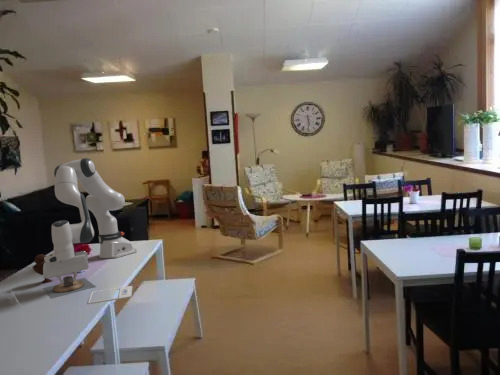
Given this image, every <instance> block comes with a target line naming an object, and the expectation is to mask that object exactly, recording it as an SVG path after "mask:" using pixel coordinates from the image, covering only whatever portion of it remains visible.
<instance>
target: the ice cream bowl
mask: <svg viewBox="0 0 500 375" xmlns="http://www.w3.org/2000/svg"><path fill="white" fill-rule="evenodd" d="M46 256H47V255H46V254H44V253H42V254H40V253H39V254H37V255H36V256H35V258H34V263H35V264H34V265H33V266H32V270H33V271H34V272H35V273H37V274H38V275H41V276H43V277H44V275H43V265H44V263H45V260H44V257H46ZM51 282H53V279H51V278H48V279H46V278H45V277H44V280H42V281H41V284H47V283H48V284H49V283H51Z"/></svg>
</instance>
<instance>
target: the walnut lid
mask: <svg viewBox="0 0 500 375" xmlns="http://www.w3.org/2000/svg"><path fill="white" fill-rule="evenodd" d="M72 277H73V276H72V275H67V276H64V277H63V278H62V280H64V284H62V285H61V284H60V283H58V285H57V284H55V285H56V286H54V287H53V291H54V292H57V293H64V292H70V291H74V290H77V289H80V288H82V287H83V286H84V282H83V281H74V282H73V280H72Z"/></svg>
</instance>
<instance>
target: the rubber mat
mask: <svg viewBox="0 0 500 375" xmlns="http://www.w3.org/2000/svg"><path fill="white" fill-rule="evenodd" d="M76 281H83V282H84V286H83V287H82V288H80V289H77V290H74V291H70V292H64V293H57V292H54V291H53V287H54V286H56V285H58V284H59V283H58V284H53V285H50V286H44V287H42V290H43V291H44V292H45V293H46V294H47V295H48V297H49V298H50V299H56V298H58V297H62V296H66V295H70V294H74V293H78V292H82V291H85V290H88V289H89V290H90V289H93V288H96V287H97V286H96V285H95V284H93V283H92V282H91V281H89V280H88V279H87V278H85V277H82V278H81V277H80V278H78V279H77V278H76Z"/></svg>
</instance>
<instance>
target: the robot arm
mask: <svg viewBox="0 0 500 375" xmlns="http://www.w3.org/2000/svg"><path fill="white" fill-rule="evenodd" d="M53 174H54V175H53V176H54V179H55V180H54V194H55V195H54V196H55V197H56V199H57V200H58V201H60V202H61V203H63V204H66V205H71V206H74V207H77V208H78V209H79V215H80V220H81V222H79V223H72V224H70V222H69V221H68V220H65V219H62V220H57V221H55V222H53V223H52V224H51V240H52V244H53V252H51V253H49V254H48V255H45V256H46V257H44V260H45V263H44V265H43V275H42V276H43V277H45V278H46V279H51V278H55V277H56V279H58V280H59V284H61V285H62V284H64V280H63V279H61V278H62V276H64V275H68V274H74V275H73V276H72V280H73V282H74V281H76V280H77V276H78V273H79V272H81V271H85V270H88V269H89V267H90V266H89V261H88V252H86V251H85V250H80V251H77V252H76V251H75V248H74V244H79V243H80V244H87V243H88V244H89V243H90V242H91V241H93V239H94V238H95V229H94V227H93V224H92V220H91V216H90V212H91V213H92V214H93V216H94V217H95V219H96V222H97V227H98V242H99V259H100V258H101V259H117V258H120V257H121V258H122V257H124V256H128V255H132V254H134V253H137V252H138V250H137V248H135V247H134V246H133V242H131V241H130V240H128V239H126V238H125V237H123V236H124V235H125V232H123V231H119V229H118V220H117V218H116V217H115V216H114V215H113V214H111V213H110V211H117V210H121V209H122V208H124V206H125V204H126V199H125V196H124V195H123V194H122V193H121V192H118V191H116V190H115V189H113V188H112V187H110V186H109V185H108V184H107V183H106V182H105V181H104V180H103V178H102V177H101V176H100V175H101V174H99V172H98V170H96V164H95V162H94V161H93V160H92V159H90V158H88V157H87V158H86V157H85V158H81V159H73V160H71V161H68V162H66V163H60V164H59V165H57V166H55V168H54V171H53ZM78 181H79V182H80V184H81V185H82V187H83V189H84V190H85V191H86V193H87V194H88V195H87V196H86V197H85V195H84V193H81V192H80V191H79V187H78ZM89 211H90V212H89ZM45 278H44V279H45Z"/></svg>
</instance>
